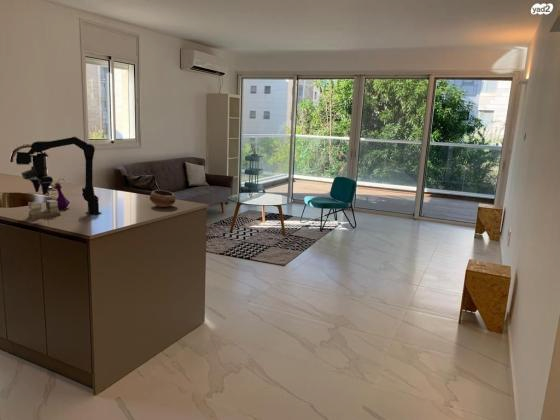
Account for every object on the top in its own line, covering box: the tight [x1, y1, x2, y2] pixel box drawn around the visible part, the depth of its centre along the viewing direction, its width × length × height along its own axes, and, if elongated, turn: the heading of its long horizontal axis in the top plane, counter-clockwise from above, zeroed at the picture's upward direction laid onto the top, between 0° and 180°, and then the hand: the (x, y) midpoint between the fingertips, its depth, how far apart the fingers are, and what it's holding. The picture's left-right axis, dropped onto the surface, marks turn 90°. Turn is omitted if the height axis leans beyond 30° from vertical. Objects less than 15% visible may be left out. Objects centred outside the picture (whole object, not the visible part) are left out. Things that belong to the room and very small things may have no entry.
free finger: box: [45, 199, 58, 213], centre depth 242 cm, size 5×4×6 cm
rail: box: [27, 201, 61, 220], centre depth 239 cm, size 6×14×8 cm, turn 140°
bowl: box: [149, 189, 176, 208], centre depth 280 cm, size 16×16×10 cm
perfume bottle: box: [53, 178, 71, 210], centre depth 258 cm, size 8×8×18 cm
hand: (40, 193), depth 240 cm, fingers open, 9 cm apart
